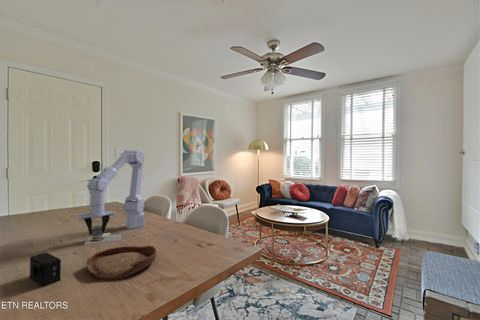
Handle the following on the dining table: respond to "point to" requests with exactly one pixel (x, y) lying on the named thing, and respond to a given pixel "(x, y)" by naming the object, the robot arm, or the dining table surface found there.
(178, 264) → the dining table surface
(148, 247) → the basket
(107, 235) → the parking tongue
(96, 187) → the robot arm
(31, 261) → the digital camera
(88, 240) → the flange plate
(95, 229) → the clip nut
